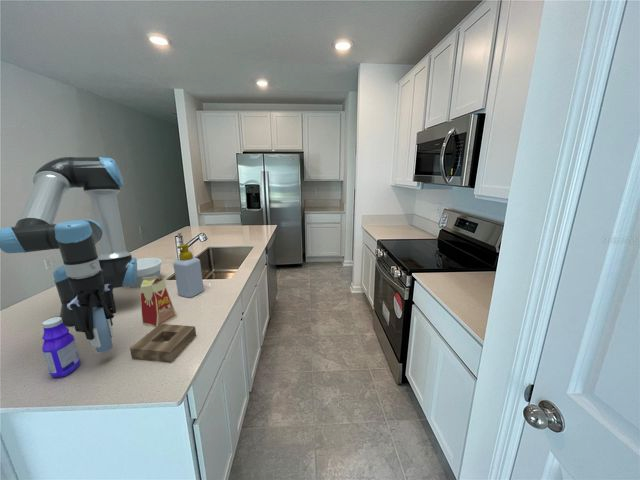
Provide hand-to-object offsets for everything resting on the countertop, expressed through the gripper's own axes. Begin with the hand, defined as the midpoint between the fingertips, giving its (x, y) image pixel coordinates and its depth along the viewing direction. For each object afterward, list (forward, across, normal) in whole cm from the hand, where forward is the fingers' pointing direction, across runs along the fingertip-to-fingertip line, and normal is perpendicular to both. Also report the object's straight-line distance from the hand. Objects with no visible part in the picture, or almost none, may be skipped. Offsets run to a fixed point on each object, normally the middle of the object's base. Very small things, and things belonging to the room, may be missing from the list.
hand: (102, 341), depth 84 cm
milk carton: (+8, +23, 0) cm, 25 cm away
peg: (+3, 0, 0) cm, 3 cm away
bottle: (+7, -6, +8) cm, 13 cm away
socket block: (+7, +8, -14) cm, 18 cm away
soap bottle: (+8, +47, 0) cm, 48 cm away
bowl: (+9, +56, +34) cm, 66 cm away
